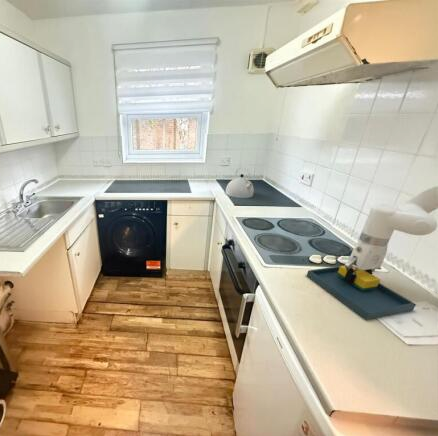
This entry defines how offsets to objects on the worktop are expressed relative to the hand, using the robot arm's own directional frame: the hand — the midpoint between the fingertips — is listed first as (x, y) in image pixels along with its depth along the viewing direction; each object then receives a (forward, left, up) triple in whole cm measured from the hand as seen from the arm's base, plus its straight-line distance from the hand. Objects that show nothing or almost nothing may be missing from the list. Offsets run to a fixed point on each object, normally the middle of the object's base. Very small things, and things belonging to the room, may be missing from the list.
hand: (356, 279), depth 91 cm
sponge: (0, 0, -1) cm, 1 cm away
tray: (+4, +3, -2) cm, 6 cm away
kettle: (-23, -118, -3) cm, 120 cm away
